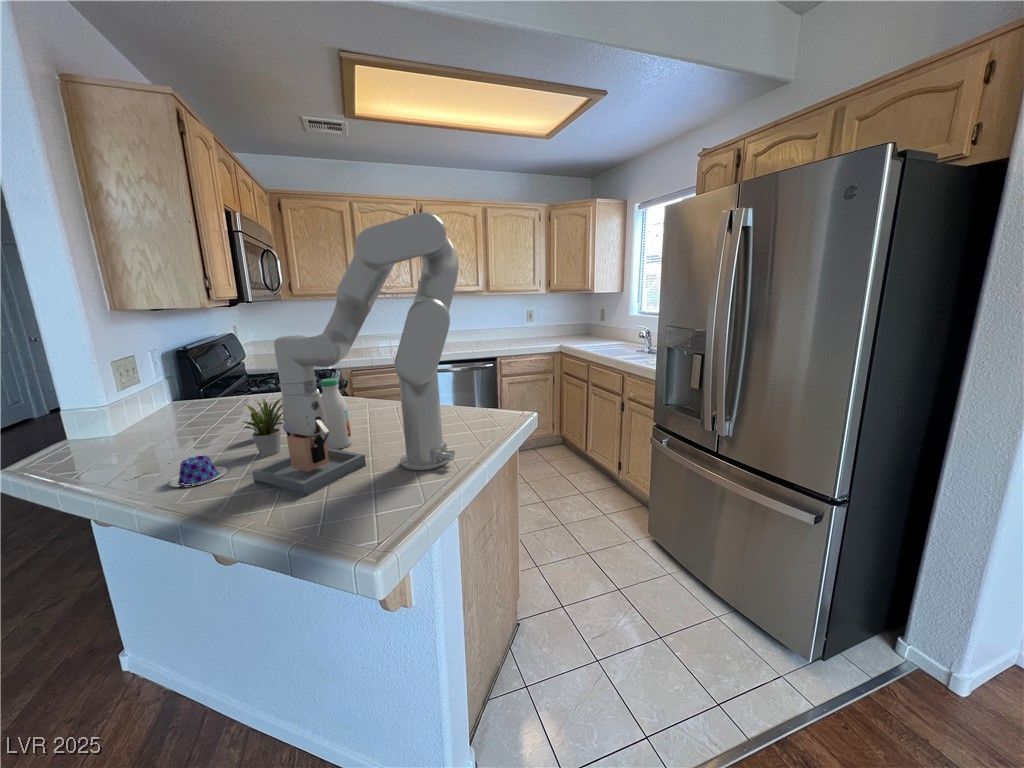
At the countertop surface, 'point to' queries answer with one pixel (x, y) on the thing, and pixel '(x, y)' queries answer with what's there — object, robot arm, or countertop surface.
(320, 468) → the tray
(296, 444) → the open square box
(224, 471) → the purple dotted hat
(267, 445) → the house plant
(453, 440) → the countertop surface
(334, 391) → the milk bottle
